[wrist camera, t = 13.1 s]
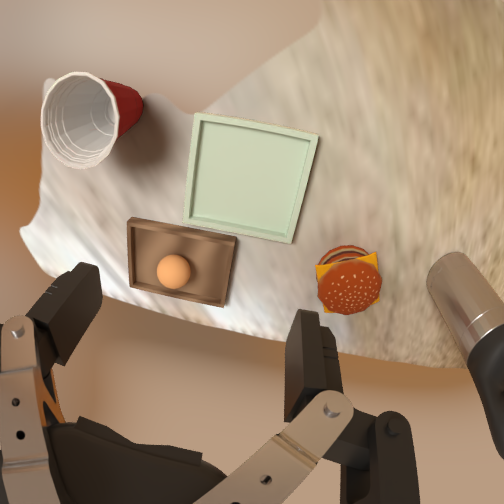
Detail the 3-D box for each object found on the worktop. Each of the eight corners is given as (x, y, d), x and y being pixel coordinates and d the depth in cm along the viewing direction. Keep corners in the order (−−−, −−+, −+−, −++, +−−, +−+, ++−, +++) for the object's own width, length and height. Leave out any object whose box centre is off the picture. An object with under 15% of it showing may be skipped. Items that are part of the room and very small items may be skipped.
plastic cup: (83, 132, 37) (30, 154, 27) (105, 62, 32) (51, 62, 22) (145, 157, 39) (101, 186, 29) (173, 84, 34) (132, 86, 24)
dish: (317, 133, 36) (318, 135, 34) (290, 237, 44) (290, 244, 42) (198, 111, 36) (194, 112, 34) (186, 217, 43) (182, 222, 42)
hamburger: (307, 252, 45) (311, 278, 39) (371, 236, 43) (383, 261, 37) (320, 301, 49) (324, 329, 43) (377, 287, 47) (388, 314, 41)
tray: (236, 236, 44) (234, 242, 43) (225, 300, 50) (223, 307, 49) (131, 216, 44) (126, 221, 42) (133, 280, 50) (129, 286, 48)
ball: (195, 252, 45) (186, 271, 41) (193, 279, 48) (184, 299, 43) (163, 245, 45) (151, 262, 41) (163, 272, 48) (152, 291, 43)
